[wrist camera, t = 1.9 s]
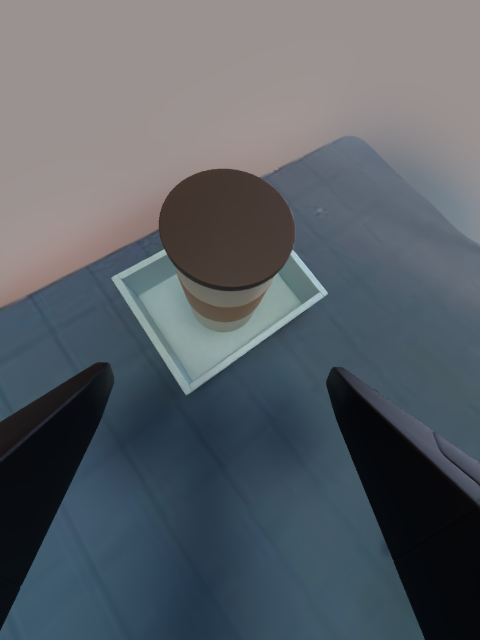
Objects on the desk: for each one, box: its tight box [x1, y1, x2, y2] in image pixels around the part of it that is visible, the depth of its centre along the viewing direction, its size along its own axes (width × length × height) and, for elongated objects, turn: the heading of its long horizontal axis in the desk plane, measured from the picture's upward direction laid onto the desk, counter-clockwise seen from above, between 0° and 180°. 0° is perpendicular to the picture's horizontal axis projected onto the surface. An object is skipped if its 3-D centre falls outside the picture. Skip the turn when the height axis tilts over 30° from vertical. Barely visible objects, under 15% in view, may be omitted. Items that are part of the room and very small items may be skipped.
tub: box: [112, 249, 328, 395], centre depth 21 cm, size 15×12×4 cm
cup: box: [159, 169, 296, 332], centre depth 17 cm, size 7×7×12 cm
